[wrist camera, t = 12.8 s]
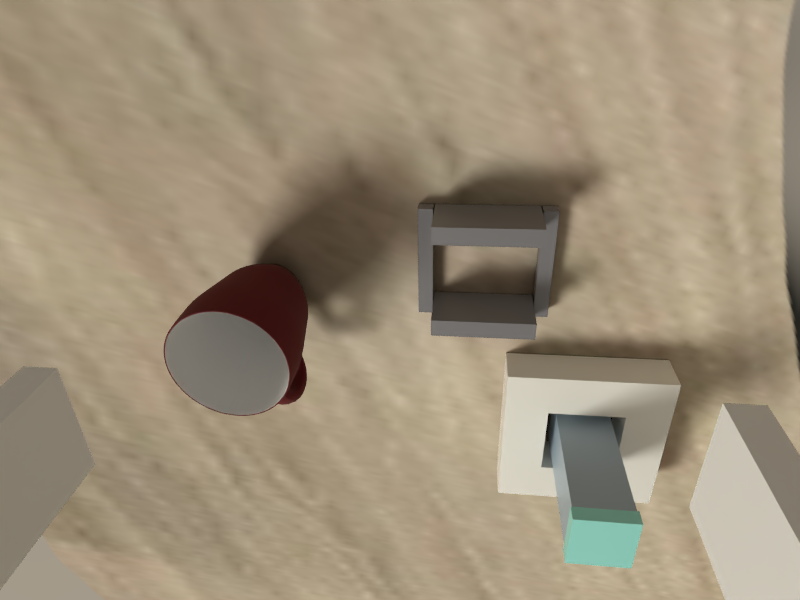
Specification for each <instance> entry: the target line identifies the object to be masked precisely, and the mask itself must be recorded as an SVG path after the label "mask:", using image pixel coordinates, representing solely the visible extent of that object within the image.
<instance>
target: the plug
mask: <svg viewBox="0 0 800 600" xmlns="http://www.w3.org/2000/svg"><path fill="white" fill-rule="evenodd" d="M548 438H549V444H550V451H551V458H552V465H553V472H554V479H555V486H556V492H557V499H558V506H559V513H560V520H561V527H562V534H563V540H564V547H563V553H564V560H565V563H573V564H585V565H597V566H609V567H621V568H632V564H633V560H634V557H635V553H636V549H637V546H638V542H639V538H640V535H641V531H642V527H643V522H642V519H641V515H640V512H639V511H637V509H636V506H635V502H634V499H633V495H632V492H631V488H630V485H629V481H628V478H627V474H626V471H625V467H624V464H623V460H622V457H621V453H620V450H619V446H618V443H617V439H616V436H615V432H614V429H613V425H612V422H611V418H610V417H606V416H588V415H570V414H552V413H551V415H550V423H549V430H548Z"/></svg>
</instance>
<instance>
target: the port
mask: <svg viewBox="0 0 800 600" xmlns="http://www.w3.org/2000/svg"><path fill="white" fill-rule="evenodd" d="M680 388H681V384H680V382H679V380H678V378H677V376H676V374H675V371H674V369H673V367H672V365H671V363H670V361H669V360H653V359H631V358H608V357H586V356H564V355H542V354H520V353H506V361H505V373H504V386H503V398H502V411H501V423H500V436H499V448H498V461H497V476H498V493H511V494H525V495H539V496H553V497H557V492H556V486H555V479H554V472H553V465H552V458H551V451H550V444H549V441H545V435H546V428H547V420H548V413H552V414H570V415H588V416H606V417H613V418H612V425H613V429H614V432H615V436H616V439H617V443H618V446H619V450H620V453H621V457H622V460H623V464H624V467H625V471H626V474H627V478H628V481H629V485H630V488H631V492H632V495H633V499H634V502H637V503H649V501H650V498H651V494H652V490H653V487H654V483H655V480H656V476H657V472H658V469H659V465H660V461H661V458H662V454H663V450H664V447H665V443H666V439H667V436H668V432H669V428H670V425H671V421H672V417H673V414H674V410H675V406H676V403H677V399H678V395H679V392H680Z"/></svg>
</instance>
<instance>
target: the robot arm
mask: <svg viewBox="0 0 800 600" xmlns="http://www.w3.org/2000/svg"><path fill="white" fill-rule="evenodd" d="M94 465H95V462H94V460H93V457H92V455H91V452H90V450H89V447H88V445H87V442H86V440H85V437H84V435H83V432H82V430H81V427H80V425H79V422H78V420H77V417H76V415H75V412H74V409H73V407H72V404H71V402H70V399H69V397H68V394H67V392H66V389H65V387H64V384H63V382H62V379H61V377H60V374H59V372H58V369H57V368H44V367H25V366H23V367H22V368H21V369H20V370H19V371H17V372H16V373H15V374H14V375H13V376H12V377H11V378H10V379H9V380H7V381H6V382H5V383H4V384H3V385H2V386H1V387H0V590H1V588H2V587H3V585H4V584H5V583H6V581H7V580H8V579H9V577H10V576H11V575H12V573H13V572H14V571H15V570H16V568H17V567H18V566H19V564H20V563H21V562H22V560H23V559H24V558H25V556H26V555H27V553H28V552H29V551H30V549H31V548H32V547H33V546H34V544H35V543H36V542H37V540H38V539H39V538H40V537H41V535H42V534H43V533H44V531H45V530H46V529H47V527H48V526H49V525H50V523H51V522H52V521H53V519H54V518H55V517H56V515H57V514H58V513H59V511H60V510H61V509H62V507H63V506H64V505H65V503H66V502H67V501H68V499H69V498H70V497H71V495H72V494H73V493H74V491H75V490H76V489H77V487H78V486H79V485H80V484H81V482H82V481H83V480H84V478H85V477H86V476H87V474H88V473H89V472H90V470H91V469H92V468H93V466H94ZM689 507H690V509H691V512H692V515H693V517H694V520H695V522H696V525H697V528H698V530H699V533H700V535H701V538H702V541H703V543H704V546H705V548H706V551H707V554H708V556H709V559H710V562H711V564H712V567H713V569H714V572H715V575H716V577H717V580H718V582H719V585H720V588H721V590H722V593H723V595H724V598H725V600H800V455H799V453H798V452H797V450H796V449H795V447H794V446H793V444H792V443H791V441H790V439H789V438H788V436H787V435H786V433H785V432H784V430H783V429H782V427H781V425H780V424H779V422H778V421H777V419H776V418H775V416H774V415H773V413H772V412H771V410H770V408H769V407H768V405H750V404H731V403H723V405H722V408H721V411H720V414H719V417H718V420H717V423H716V426H715V429H714V432H713V435H712V439H711V442H710V445H709V448H708V451H707V454H706V457H705V460H704V463H703V466H702V469H701V472H700V476H699V479H698V482H697V485H696V488H695V491H694V494H693V497H692V500H691V503H690V506H689Z"/></svg>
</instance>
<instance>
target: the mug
mask: <svg viewBox="0 0 800 600" xmlns="http://www.w3.org/2000/svg"><path fill="white" fill-rule="evenodd" d="M307 320H308V304H307V300H306V296H305V294H304V291H303V289H302V287H301V285H300V283H299V281H298V280H297V278H296V277H295V276H294V274H293V273H291V272H290V271H289V270H287V269H286V268H284V267H282V266H279V265H274V264H256V265H250V266H246V267H243V268H240V269H238V270H236V271H234V272H232V273H231V274H229V275H228V276H227V277H225V278H224V279H222V280H221V281H219V282H218V283H217V284H215V285H214V286H212V287H211V288H210V289H208V290H207V291H205V292H204V293H203V294H201V295H200V296H199V297H197V298H196V299H195V300H194V301H193V302H192V303H191V304H190V305H189V306H188V307H187V308H186V309H185V311H184V312H183V313H182V314H181V315H180V317H179V318H178V319H177V321H176V322H175V323H174V325H173V326H172V327H171V329H170V330H169V332H168V334H167V336H166V339H165V343H164V358H165V363H166V366H167V369H168V371H169V373H170V375H171V377H172V378H173V380H174V381H175V383H176V384H177V385H178V386H179V387H180V388H181V390H182V391H183V392H185V393H186V394H187V395H188V396H189V397H190V398H192V399H193V400H195V401H196V402H198V403H199V404H201V405H203V406H205V407H207V408H209V409H211V410H214V411H217V412H220V413H224V414H229V415H236V416H248V415H255V414H259V413H262V412H265V411H267V410H270V409H271V408H273V407H274V406H276V405H277V404H290V403H292V402H295V401H296V400H297V399H299V398H300V397H301V395H302V394H303V392H304V389H305V386H306V380H307V372H306V366H305V362H304V359H303V357H302V352H303V347H304V340H305V333H306V327H307Z"/></svg>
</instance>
